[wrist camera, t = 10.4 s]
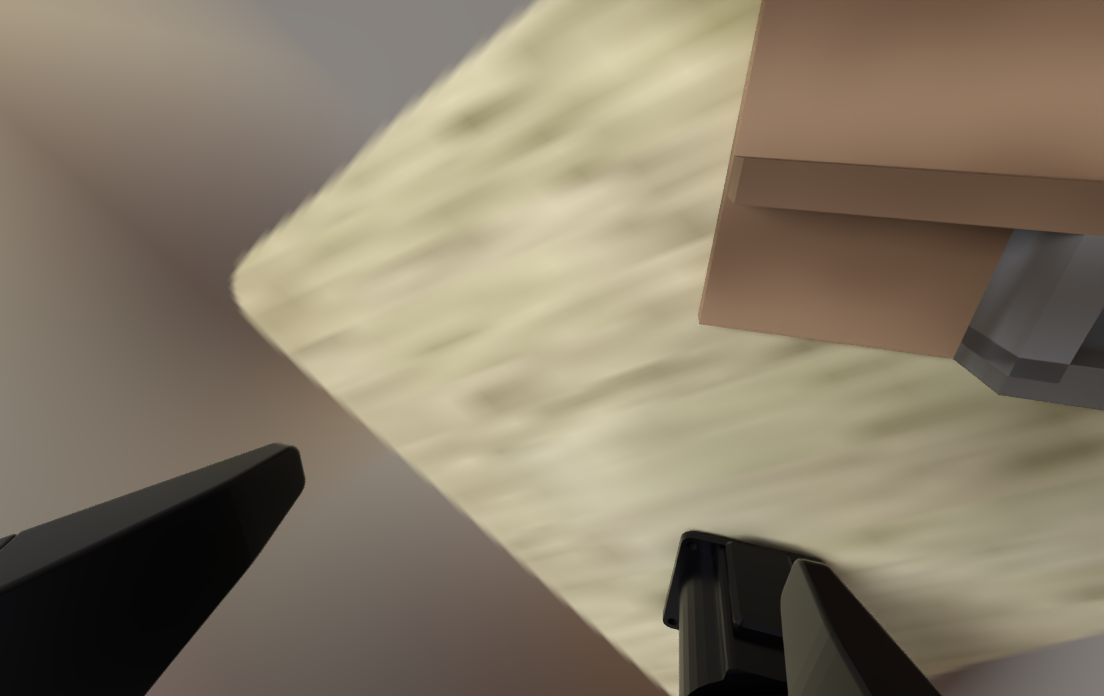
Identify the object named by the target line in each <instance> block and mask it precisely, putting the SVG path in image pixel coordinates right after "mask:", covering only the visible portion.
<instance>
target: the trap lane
mask: <svg viewBox="0 0 1104 696" xmlns="http://www.w3.org/2000/svg"><path fill="white" fill-rule="evenodd" d="M698 317H699V324H703V325H711V326H718V327H725V328H733V329H740V330H747V331H755V332H762V333H769V334H777V335H784V336H791V337H798V338H806V339H813V340H820V341H828V342H835V343H842V344H850V345H857V346H864V347H872V348H879V349H886V350H894V351H901V352H908V353H915V354H923V355H930V356H937V357H945V358H952V359H954V360H955V361H957V362H958V363H959V364H960V365H962V366H963V367H964V368H966V369H967V370H968V371H969V372H971V373H972V374H973V375H974V376H976V377H977V378H978V379H979V380H981V381H982V382H983V383H984V384H986V385H987V386H988V387H989V388H991V389H992V390H993V391H994V392H996V393H997V394H998V395H1004V396H1010V397H1017V398H1024V399H1031V400H1037V401H1044V402H1051V403H1058V404H1065V405H1071V406H1078V407H1085V408H1092V409H1098V410H1104V0H762V3H761V8H760V13H759V18H758V23H757V28H756V33H755V38H754V42H753V47H752V52H751V57H750V62H749V67H748V72H747V77H746V82H745V87H744V92H743V97H742V102H741V107H740V112H739V116H738V121H737V126H736V131H735V136H734V141H733V146H732V151H731V156H730V161H729V166H728V171H727V176H726V181H725V185H724V190H723V195H722V200H721V205H720V210H719V215H718V220H717V225H716V230H715V235H714V240H713V245H712V250H711V255H710V259H709V264H708V269H707V274H706V279H705V284H704V289H703V294H702V299H701V304H700V309H699V314H698Z"/></svg>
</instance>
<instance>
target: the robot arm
mask: <svg viewBox="0 0 1104 696" xmlns="http://www.w3.org/2000/svg"><path fill="white" fill-rule="evenodd" d="M304 486H305V474H304V469H303V465H302V460H301V455H300V452H299V450H298V448H297V447H295V446H293V445H288V444H284V443H272V444H269V445H266V446H263V447H261V448H258V449H255V450H252V451H249V452H246V453H243V454H241V455H238V456H235V457H232V458H229V459H226V460H224V461H221V462H218V463H215V464H212V465H209V466H207V467H204V468H201V469H198V470H195V471H192V472H189V473H186V474H184V475H181V476H178V477H175V478H172V479H170V480H166V481H164V482H161V483H158V484H155V485H152V486H149V487H147V488H144V489H141V490H138V491H135V492H132V493H129V494H127V495H124V496H121V497H118V498H115V499H112V500H110V501H107V502H104V503H101V504H98V505H95V506H93V507H89V508H87V509H84V510H81V511H78V512H75V513H72V514H70V515H67V516H64V517H61V518H58V519H55V520H53V521H50V522H47V523H44V524H41V525H38V526H35V527H33V528H30V529H27V530H24V531H21V532H20V533H19V534H18V535H16V534H12V535H9V536H7V537H4V538H1V539H0V696H145V695H146V694H147V692H148V691H149V690H150V689H151V687H152V686H153V685H154V684H155V683H156V681H157V680H158V679H159V678H160V676H161V675H162V674H163V673H164V672H165V670H166V669H167V668H168V667H169V665H170V664H171V663H172V662H173V660H174V659H175V658H176V657H177V656H178V654H179V653H180V652H181V651H182V650H183V648H184V647H185V646H186V645H187V644H188V642H189V641H190V640H191V639H192V637H193V636H194V635H195V634H196V632H197V631H198V630H199V629H200V628H201V626H202V625H203V624H204V623H205V621H206V620H207V619H208V618H209V617H210V615H211V614H212V613H213V612H214V611H215V609H216V608H217V607H218V605H219V604H220V603H221V602H222V601H223V599H224V598H225V597H226V596H227V595H228V593H229V592H230V591H231V590H232V589H233V587H234V586H235V585H236V583H237V582H238V581H239V580H240V579H241V578H242V576H243V575H244V574H245V573H246V571H247V570H248V569H249V567H250V566H251V565H252V564H253V562H254V561H255V559H256V558H257V557H258V555H259V554H260V553H261V551H262V550H263V548H264V547H265V545H266V544H267V542H268V541H269V540H270V538H271V537H272V535H273V534H274V532H275V531H276V529H277V528H278V526H279V525H280V524H281V522H282V521H283V519H284V518H285V516H286V515H287V513H288V512H289V510H290V509H291V507H292V506H293V505H294V503H295V502H296V500H297V499H298V497H299V496H300V494H301V493H302V491H303V489H304ZM689 542H694V543H689ZM663 622H664V624H665V625H666V626H667V627H670V628H673V629H677V630H679V696H943V695H942V694H941V693H940V692H939V691H938V690H937V689H936V688H935V686H934V685H933V684H932V683H931V682H930V681H929V680H928V678H927V677H926V676H925V675H924V674H923V673H922V672H921V671H920V669H919V668H918V667H917V666H916V665H915V664H914V663H913V661H912V660H911V659H910V658H909V657H908V656H907V655H906V654H905V652H904V651H903V650H902V649H901V648H900V647H899V646H898V644H897V643H896V642H895V641H894V640H893V639H892V638H891V637H890V635H889V634H888V633H887V632H886V631H885V630H884V629H883V627H882V626H881V625H880V624H879V623H878V622H877V621H876V620H875V618H874V617H873V616H872V615H871V614H870V613H869V612H868V610H867V609H866V608H865V607H864V606H863V605H862V604H861V603H860V601H859V600H858V599H857V598H856V597H855V596H854V595H853V593H852V592H851V591H850V590H849V589H848V588H847V587H846V586H845V584H844V583H843V582H842V581H841V580H840V579H839V578H838V576H837V575H836V574H835V573H834V572H833V571H832V570H831V569H830V568H829V567H828V566H827V565H826V564H825V563H824V562H823V561H821V560H818V559H814V558H810V557H805V556H801V555H796V554H792V553H787V552H783V551H778V550H774V549H769V548H765V547H760V546H756V545H751V544H747V543H742V542H738V541H733V540H729V539H724V538H720V537H715V536H711V535H706V534H702V533H697V532H691V531H689V532H685V533H684V534H682V536H681V539H680V543H679V547H678V552H677V556H676V560H675V564H674V569H673V573H672V577H671V581H670V585H669V590H668V594H667V598H666V602H665V607H664V611H663Z"/></svg>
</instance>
